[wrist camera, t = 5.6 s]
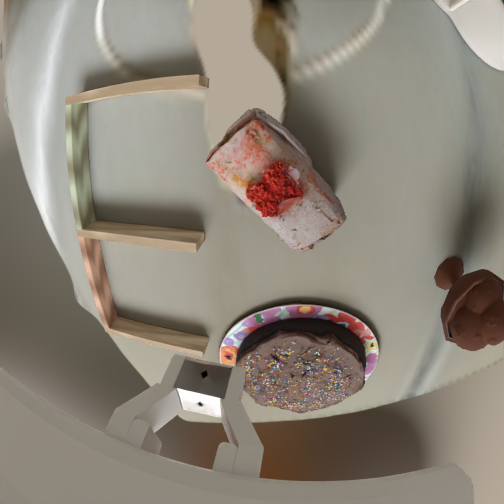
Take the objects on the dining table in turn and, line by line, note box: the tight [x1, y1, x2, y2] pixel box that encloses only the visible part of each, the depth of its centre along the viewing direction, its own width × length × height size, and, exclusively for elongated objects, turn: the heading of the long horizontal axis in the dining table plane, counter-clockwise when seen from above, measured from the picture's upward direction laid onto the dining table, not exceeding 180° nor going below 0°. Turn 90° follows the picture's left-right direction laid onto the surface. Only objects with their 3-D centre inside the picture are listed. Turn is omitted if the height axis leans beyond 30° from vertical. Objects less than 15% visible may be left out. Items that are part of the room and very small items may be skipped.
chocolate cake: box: [219, 302, 380, 413], centre depth 41 cm, size 28×28×7 cm
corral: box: [66, 74, 209, 357], centre depth 34 cm, size 40×19×4 cm, turn 176°
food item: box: [206, 108, 346, 252], centre depth 26 cm, size 14×8×10 cm, turn 46°
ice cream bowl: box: [435, 257, 504, 351], centre depth 26 cm, size 11×11×15 cm
